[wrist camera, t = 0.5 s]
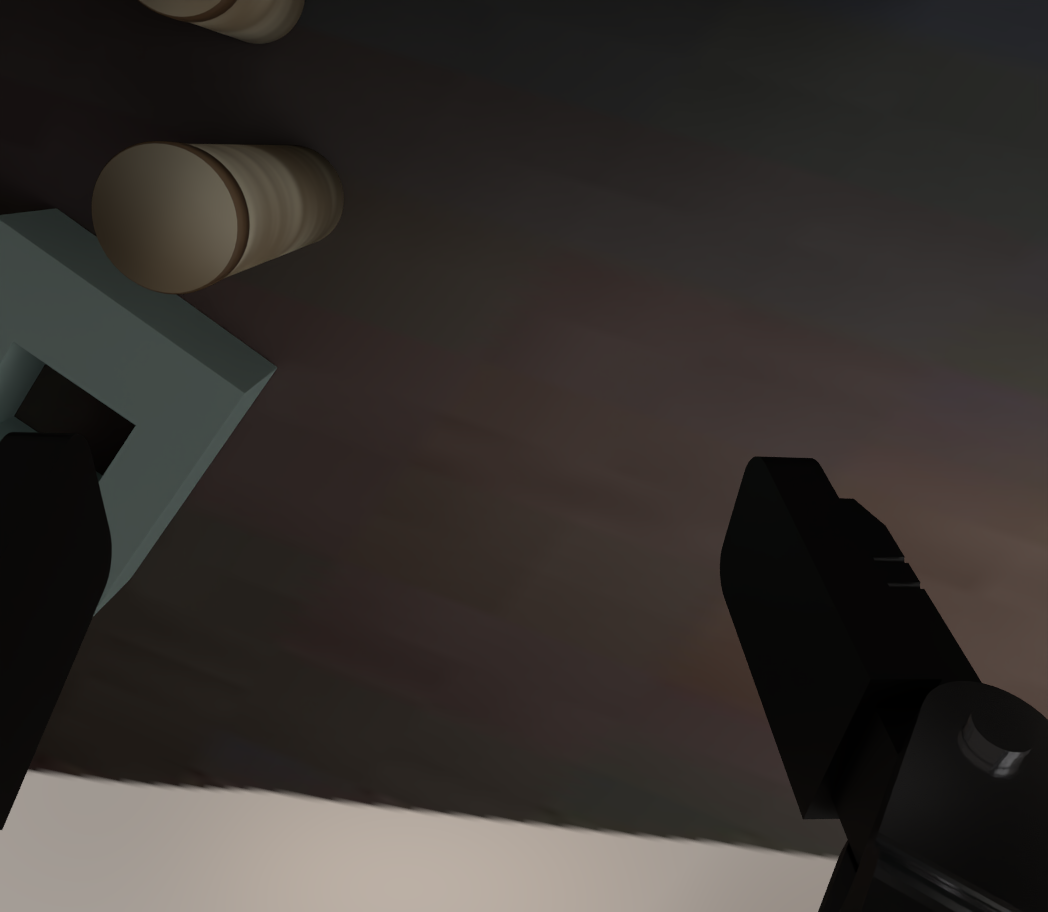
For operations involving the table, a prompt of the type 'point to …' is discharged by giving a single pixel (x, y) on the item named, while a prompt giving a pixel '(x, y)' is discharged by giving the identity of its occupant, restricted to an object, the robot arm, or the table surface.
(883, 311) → the table surface
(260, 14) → the short pin
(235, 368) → the socket block
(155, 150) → the tall pin
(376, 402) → the table surface
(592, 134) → the table surface
